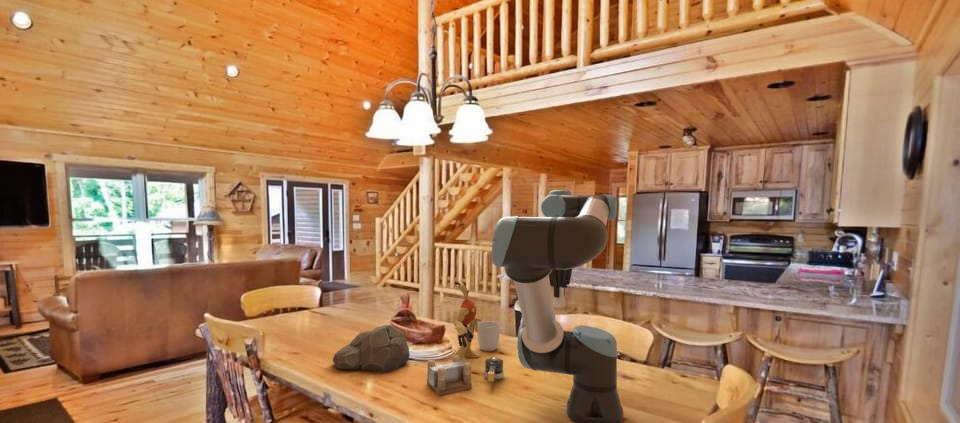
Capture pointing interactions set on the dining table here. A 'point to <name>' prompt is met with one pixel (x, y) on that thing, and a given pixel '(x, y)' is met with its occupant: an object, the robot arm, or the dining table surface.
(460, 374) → the bar
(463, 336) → the toy
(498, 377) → the base
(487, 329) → the mug
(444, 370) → the rack
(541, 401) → the dining table surface
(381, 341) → the decorative rock
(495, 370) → the dark grey mechanical part
